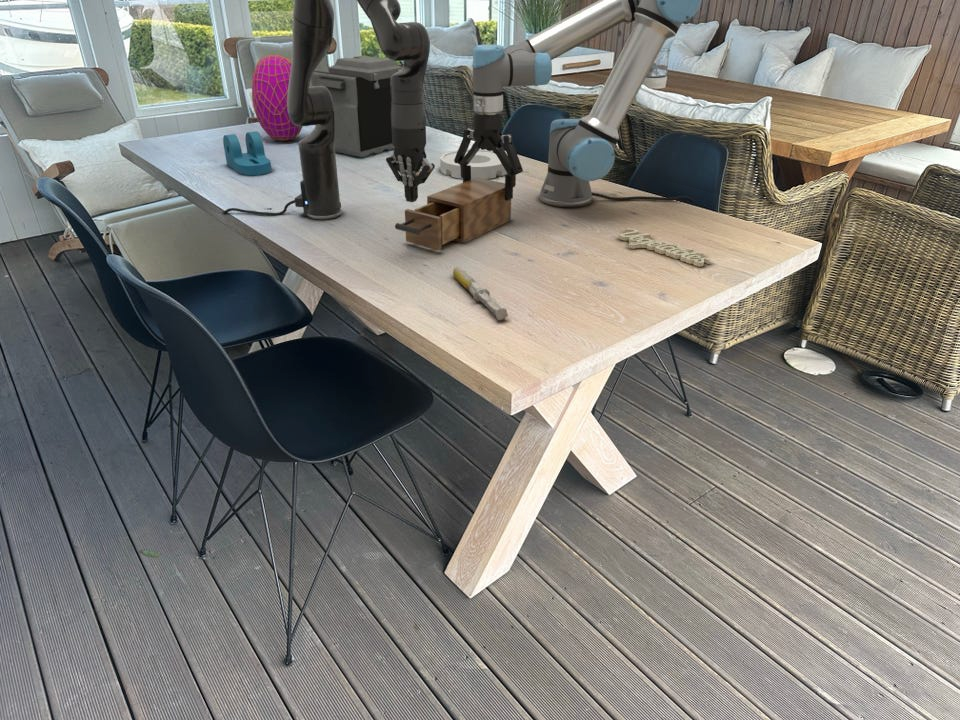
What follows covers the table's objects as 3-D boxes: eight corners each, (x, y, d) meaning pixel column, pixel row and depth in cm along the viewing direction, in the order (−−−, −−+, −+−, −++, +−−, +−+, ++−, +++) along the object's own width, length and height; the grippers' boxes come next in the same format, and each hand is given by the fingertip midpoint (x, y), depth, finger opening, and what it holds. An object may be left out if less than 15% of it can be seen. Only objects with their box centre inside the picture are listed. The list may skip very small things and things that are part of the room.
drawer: (423, 257, 161) (422, 225, 157) (390, 248, 166) (388, 216, 162) (486, 227, 179) (487, 197, 175) (455, 219, 184) (454, 190, 180)
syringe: (449, 274, 155) (449, 263, 153) (465, 272, 156) (464, 260, 154) (490, 323, 135) (491, 310, 133) (508, 319, 136) (508, 307, 134)
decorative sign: (605, 235, 174) (629, 227, 180) (604, 239, 175) (629, 230, 181) (694, 266, 158) (718, 256, 163) (693, 270, 158) (717, 260, 164)
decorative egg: (293, 132, 276) (283, 50, 261) (319, 140, 264) (310, 56, 249) (249, 139, 265) (236, 54, 250) (273, 148, 253) (261, 60, 238)
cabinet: (463, 243, 172) (463, 204, 167) (428, 234, 178) (426, 196, 172) (510, 220, 187) (511, 184, 182) (476, 212, 193) (476, 177, 188)
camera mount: (227, 164, 233) (221, 132, 227) (257, 160, 238) (252, 129, 233) (244, 176, 220) (239, 143, 215) (276, 172, 225) (271, 139, 220)
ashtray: (443, 160, 241) (442, 148, 239) (509, 161, 240) (509, 149, 238) (437, 178, 221) (437, 166, 219) (509, 180, 220) (509, 167, 218)
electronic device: (383, 133, 276) (378, 52, 261) (425, 141, 265) (422, 56, 250) (314, 150, 251) (304, 61, 235) (358, 160, 240) (350, 67, 224)
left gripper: (374, 122, 151) (379, 199, 160) (421, 130, 144) (423, 210, 153) (396, 117, 156) (400, 192, 165) (442, 124, 150) (444, 202, 159)
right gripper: (439, 108, 177) (442, 190, 188) (521, 120, 164) (519, 206, 175) (457, 104, 182) (458, 183, 193) (538, 115, 170) (534, 199, 180)
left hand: (411, 201), depth 159 cm, fingers closed
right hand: (487, 194), depth 184 cm, fingers open, 13 cm apart
